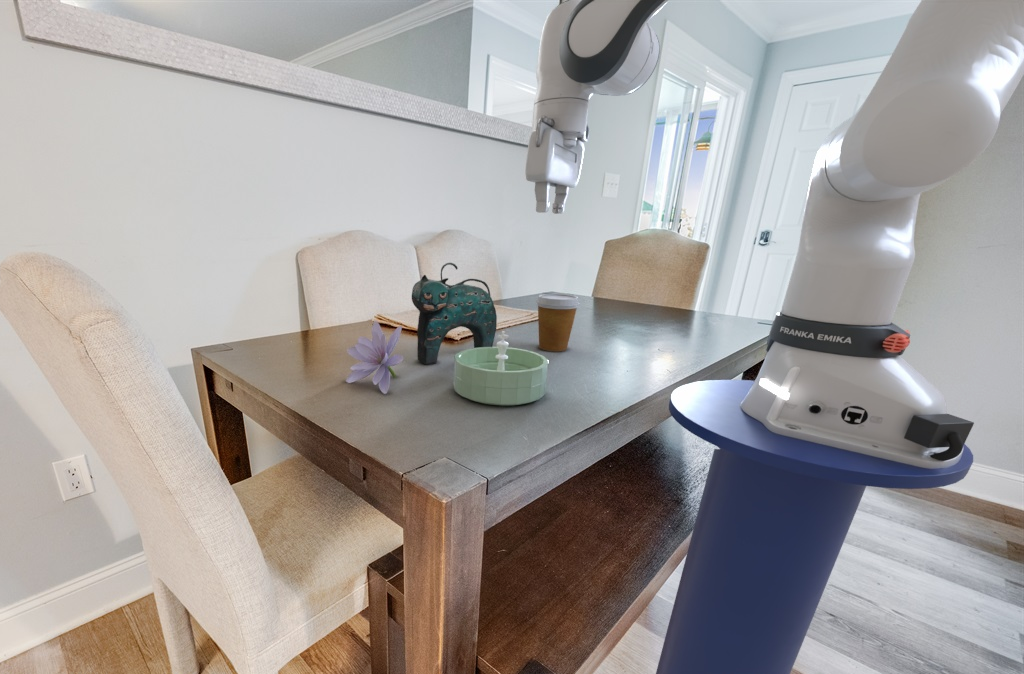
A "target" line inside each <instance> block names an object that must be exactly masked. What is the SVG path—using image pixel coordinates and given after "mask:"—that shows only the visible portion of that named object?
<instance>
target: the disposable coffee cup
mask: <svg viewBox="0 0 1024 674" xmlns="http://www.w3.org/2000/svg"><path fill="white" fill-rule="evenodd" d="M535 302H536V306H537V321H538V348H539V349H541V350H543V351H546V352H565V351H567V349H568V345H569V341H570V337H571V334H572V330H573V325H574V321H575V319H576V318H575V317H576V314H577V310H578V308H579V306H580V304H581V302H579V297H578V296H577V295H573V294H565V293H564V294H563V293H542V294H539V295H538V298H537V300H536V301H535Z"/></svg>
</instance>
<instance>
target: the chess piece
mask: <svg viewBox="0 0 1024 674" xmlns="http://www.w3.org/2000/svg"><path fill="white" fill-rule="evenodd" d="M497 338H498V339H500V341H497V342H496V347H498V352H499V354H498V355H496V357H495V358H497V359H499V361H498V367H497V370H499V371H505V367H504V359H508V356H507V355H505V352H506V350H507V347H509V345H510V344H509V342H507V341H506V340H505V339H509V334H506V331H505V330H502V331H501V334H497Z"/></svg>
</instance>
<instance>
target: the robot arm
mask: <svg viewBox="0 0 1024 674" xmlns="http://www.w3.org/2000/svg"><path fill="white" fill-rule="evenodd" d="M670 1H671V0H565V1H563V2H561V3H559V4H558V5H556V6H555V7H554V8H553V9H552V10H551V11H550V12H549V13H548V15H547V16H546V19H545V21H544V24H543V27H542V30H541V35H540V40H539V45H538V46H539V47H538V53H537V62H536V63H537V65H536V82H537V92H536V95H535V99H534V102H533V112H532V121H531V122H532V124H531V133H530V135H529V139H528V145H527V151H526V152H527V154H526V159H525V171H524V173H525V180H526V181H527V182H529V183H534V196H535V202H536V203H535V211H536V212H537V213H538V214H539V213H542V214H543V213H548V212H549V209H550V208H549V207H550V201H549V190H550V187H551V188H555V189H554V194H555V196H554V200H553V201H554V202H553V203H552V209H551V213H552V214H554V215H561V214H563V213H564V212H565V204H566V201H567V198H568V195H569V190H570V189H575V188H576V187H577V186H578V183H579V179H580V176H581V170H582V166H583V165H582V164H583V159H584V153H585V144H584V143H587V142H588V141H589V136H590V128H589V125H588V111H589V105H590V99H591V97H592V96H593V95H600V96H610V97H621V96H627V95H630V94H632V93H634V92H636V91H638V90H639V89H640V88H642V87H643V86H644V85H645V84H646V82H648V80H649V79H650V78H651V77H652V75H653V73H654V71H655V69H656V67H657V65H658V62H659V58H660V51H661V50H660V49H661V46H660V42H659V41H660V39H659V37H658V35H657V34H656V32H655V29H653V28H652V26H651V25H650V24H649V23H648V22H649V21H650V19H651V18H653V16H654V15H656V14H657V13H658V12H659V11H660V10H661V9H662V8H664V6H665V5H666V4H668V3H669V2H670ZM1023 76H1024V0H920V2H919V3H918V5H917V7H916V8H915V10H914V12H913V13H912V14H911V16H910V17H909V19H908V21H907V24H906V26H905V29H904V31H903V32H902V35H901V37H900V39H899V41H898V42H897V44H896V46H895V48H894V50H893V52H892V54H891V55H890V57H889V59H888V61H887V63H886V65H885V67H883V70H882V72H881V73H880V75H879V76H878V79H877V80H876V82H875V83H874V86H873V87H872V89H871V90H870V92H869V94H868V95H867V97H866V99H865V100H864V101H863V103H862V104H861V106H860V107H859V108H858V109H857V110H856V111H855V112H854V114H853V115H852V116H850V117H849V118H847V119H846V120H844V121H843V122H841V123H840V124H839V125H837V126H836V127H835V128H834V129H833V130H832V131H831V132H830V133H829V134H828V135H827V137H826V138H825V139H824V140H823V142H822V143H821V145H820V147H819V148H818V151H817V153H816V156H815V159H814V162H813V163H814V164H813V167H812V171H811V172H812V173H811V176H810V180H809V186H808V191H807V196H806V200H805V206H804V211H803V216H802V223H801V229H800V236H799V243H798V247H797V253H796V257H795V260H794V264H793V267H792V271H791V274H790V278H789V282H788V285H787V289H786V292H785V296H784V299H783V302H782V305H781V310H780V311H777V313H776V314H775V318H774V320H773V321H772V323H771V326H770V330H769V334H768V338H767V340H766V341H767V342H766V349H765V351H766V352H767V353H766V355H765V357H764V361H763V363H762V364H761V367H760V369H759V371H758V374H757V376H756V378H755V380H754V381H755V382H754V384H753V385H752V387H751V389H750V391H749V392H748V394H747V395H746V397H745V398H744V400H743V401H742V402H741V404H740V406H741V409H742V410H743V411H744V412H745V413H747V414H748V415H749V416H751V417H753V418H755V419H757V420H758V421H760V422H762V423H763V424H764V426H765V427H766V428H767V429H768V430H770V431H771V432H773V433H776V434H780V435H784V436H788V437H793V438H797V439H801V440H805V441H810V442H814V443H818V444H823V445H827V446H831V447H835V448H840V449H844V450H848V451H853V452H857V453H861V454H865V455H870V456H874V457H878V458H883V459H887V460H891V461H896V462H900V463H904V464H908V465H913V466H917V467H922V468H927V469H940V468H947V467H950V466H953V465H955V464H956V463H958V462H959V460H960V459H961V456H962V453H963V449H964V447H963V445H964V444H965V443H966V441H967V439H968V437H969V435H970V433H971V431H972V429H973V426H974V424H975V422H974V421H971V420H969V419H965V418H962V417H959V416H956V415H954V414H953V415H952V414H950V413H948V406H947V401H946V399H945V396H944V394H943V393H942V391H941V390H939V389H938V388H937V387H936V386H935V385H933V384H932V382H930V381H929V380H928V379H926V377H925V376H923V375H922V374H921V373H920V372H919V371H918V370H916V369H915V368H914V367H913V366H912V365H911V364H910V363H909V362H907V361H906V360H905V359H904V358H903V357H902V356H903V354H904V353H905V351H906V349H907V348H908V346H909V345H910V343H911V340H910V337H911V332H910V331H909V330H908V329H905V330H904V329H903V328H901V327H899V326H898V325H897V324H895V323H893V319H894V316H895V313H896V311H897V308H898V305H899V303H900V300H901V298H902V295H903V292H904V290H905V286H906V284H907V281H908V278H909V276H910V273H911V271H912V268H913V266H914V263H915V261H916V248H915V233H916V231H915V230H916V225H917V224H916V223H917V216H918V208H919V204H920V203H919V202H920V198H921V195H922V194H923V193H925V192H928V191H930V190H932V189H934V188H937V187H938V186H940V185H942V184H944V183H945V182H947V181H949V180H951V179H952V178H954V177H955V176H957V175H958V174H959V173H961V172H962V171H963V170H965V169H966V168H967V167H970V165H972V163H974V162H975V161H976V160H977V159H978V158H979V157H980V156H981V155H982V154H983V153H984V152H985V150H986V149H987V148H988V147H989V145H990V144H991V142H992V140H993V139H994V137H995V135H996V133H997V131H998V127H999V124H1000V121H1001V114H1002V112H1003V111H1004V109H1005V108H1006V106H1007V105H1008V103H1009V101H1010V100H1011V98H1012V96H1013V94H1014V93H1015V91H1016V89H1017V87H1018V85H1020V83H1021V80H1022V78H1023Z"/></svg>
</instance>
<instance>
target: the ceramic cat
mask: <svg viewBox="0 0 1024 674" xmlns="http://www.w3.org/2000/svg"><path fill="white" fill-rule="evenodd" d="M448 265H450V266H453V267H454V268H455V270H458V269H459V268H458V265H457V264H455V263H453V262H446V263H445V264H443V265H442V266H441V269H440V280H434V279H430V278H428V277H427V275H426V274H423V276H422V277H421V279H420V280H418V281H416V282H415V283H414V284H413V286H412V290H411V301H412V304H413V306H414V307H415V308H416V309H417V310H418V312H419V315H418V320H417V321H418V322H417V330H416V335H417V349H416V350H417V351H416V353H417V361H418V362H419V363H421V364H422V365H426V366H428V365H434V364H437V363H438V358H439V357H438V356H439V353H440V349H441V345H442V343H443V342H444V340H445V338H446V336H447V335H448V333H449V332H451V331H452V330H455V329H458V328H460V327H461V328H465V329H468V330H469V331H470V332H471V334H472V340H473V348H479V347H494V341H495V338H496V337H495V336H496V332H497V326H498V325H497V323H498V322H497V320H498V315H497V310H496V307H495V304H494V301H493V299H492V296H491V291H490V287H489V285H488V284H487V283H486V282H485V280H484V281H483V280H482V279H477V278H467V279H463V280H462V281H459V282H457V283H455V284H452V285H451V284H447V283H446V282H447V281H449V277H445V278H443V270H444V268H445V267H446V266H448ZM466 282H478V283H481V284H483V285H484V286H485V288H486V290H484V288H481V287H480V286H476V285H472V284H471V285H470V284H465V283H466Z"/></svg>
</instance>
